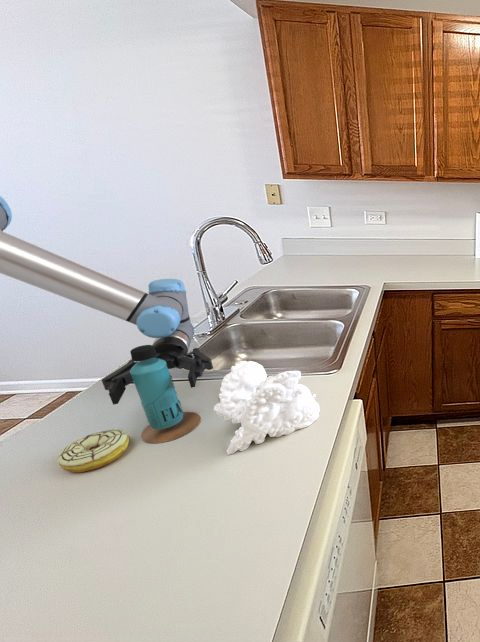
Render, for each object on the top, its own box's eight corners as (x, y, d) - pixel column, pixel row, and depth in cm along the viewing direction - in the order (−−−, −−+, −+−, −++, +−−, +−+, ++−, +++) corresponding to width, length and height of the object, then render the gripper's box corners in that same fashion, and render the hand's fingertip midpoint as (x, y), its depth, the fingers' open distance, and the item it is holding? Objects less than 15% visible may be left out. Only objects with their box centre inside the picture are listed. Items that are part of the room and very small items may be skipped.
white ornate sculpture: (345, 376, 94) (269, 367, 77) (321, 462, 91) (237, 472, 74) (294, 361, 103) (216, 350, 86) (271, 439, 100) (186, 443, 83)
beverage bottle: (166, 437, 87) (138, 356, 79) (143, 432, 88) (113, 352, 81) (193, 419, 92) (169, 342, 85) (171, 415, 94) (145, 339, 87)
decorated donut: (97, 439, 87) (91, 425, 85) (144, 441, 86) (139, 426, 85) (46, 474, 77) (38, 459, 76) (99, 476, 76) (92, 461, 75)
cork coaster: (128, 442, 86) (127, 440, 86) (168, 412, 96) (168, 410, 96) (175, 445, 85) (175, 443, 85) (211, 414, 95) (211, 412, 95)
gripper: (229, 352, 108) (225, 390, 90) (112, 374, 97) (82, 422, 79) (222, 327, 105) (217, 361, 88) (101, 346, 94) (68, 390, 76)
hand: (153, 390), depth 83 cm, fingers open, 12 cm apart
